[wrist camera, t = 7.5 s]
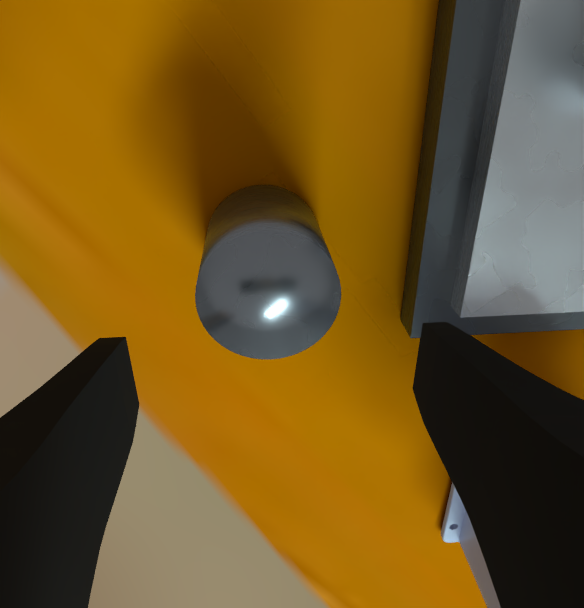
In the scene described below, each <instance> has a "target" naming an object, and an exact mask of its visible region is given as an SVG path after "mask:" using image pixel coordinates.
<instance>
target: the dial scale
mask: <svg viewBox="0 0 584 608" xmlns="http://www.w3.org/2000/svg"><path fill="white" fill-rule="evenodd" d="M401 322H402V324H403V325H404V327H405V329H406V331H407V333H408V334H409V336H410V338H420V337H421V331H422V324H423V323H433V322H448V323H450V324H452V325H454V326H455V327H457V328H459V329H461V330H462V331H464V332H465V333H467V334H469V335H478V334H497V333H516V332H536V331H555V330H574V329H584V0H439V6H438V14H437V22H436V31H435V39H434V47H433V55H432V64H431V72H430V80H429V88H428V97H427V105H426V113H425V121H424V130H423V138H422V146H421V154H420V163H419V171H418V179H417V188H416V196H415V204H414V212H413V221H412V229H411V237H410V245H409V254H408V262H407V270H406V278H405V287H404V295H403V303H402V311H401Z"/></svg>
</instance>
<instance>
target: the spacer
mask: <svg viewBox="0 0 584 608" xmlns="http://www.w3.org/2000/svg"><path fill="white" fill-rule="evenodd" d="M195 299H196V307H197V312H198V315H199V318H200V320H201V322H202V324H203V326H204V327H205V329H206V330H207V332H208V333H209V334H210V335H211V336H212V337H213V338H214V339H215V340H216V341H217V342H218V343H219V344H221V345H222V346H224V347H225V348H227V349H228V350H230V351H232V352H234V353H237V354H240V355H242V356H246V357H250V358H256V359H277V358H283V357H288V356H291V355H294V354H297V353H299V352H301V351H303V350H305V349H307V348H309V347H310V346H312V345H313V344H315V343H316V342H317V341H318V340H320V339H321V338H322V337H323V336H324V335H325V333H326V332H327V331H328V330H329V328H330V327H331V325H332V324H333V322H334V320H335V318H336V316H337V313H338V310H339V306H340V300H341V286H340V281H339V277H338V274H337V271H336V269H335V266H334V264H333V261H332V259H331V256H330V253H329V251H328V248H327V246H326V243H325V241H324V238H323V236H322V233H321V231H320V228H319V226H318V223H317V220H316V218H315V216H314V214H313V212H312V210H311V209H310V208H309V206H308V205H307V204H306V203H305V202H304V201H303V200H302V199H301V198H300V197H299V196H297V195H296V194H294V193H293V192H291V191H289V190H287V189H284V188H281V187H278V186H273V185H254V186H249V187H245V188H243V189H240V190H238V191H236V192H234V193H232V194H231V195H229V196H228V197H227V198H225V199H224V200H223V201H222V202H221V203H220V204H219V206H218V207H217V208H216V210H215V211H214V213H213V215H212V217H211V219H210V222H209V225H208V229H207V234H206V239H205V244H204V249H203V254H202V259H201V264H200V270H199V275H198V280H197V285H196V293H195Z"/></svg>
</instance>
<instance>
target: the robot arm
mask: <svg viewBox="0 0 584 608" xmlns="http://www.w3.org/2000/svg"><path fill="white" fill-rule="evenodd" d="M413 391H414V394H415V398H416V401H417V404H418V407H419V410H420V413H421V416H422V419H423V422H424V425H425V427H426V429H427V431H428V433H429V435H430V437H431V439H432V441H433V444H434V446H435V448H436V450H437V452H438V454H439V456H440V458H441V460H442V462H443V464H444V466H445V468H446V470H447V472H448V474H449V476H450V478H451V480H452V486H451V490H450V494H449V499H448V503H447V508H446V512H445V517H444V521H443V526H442V530H441V536H442V539H443V540H444V541H445V542H460V544H461V547H462V549H463V551H464V554H465V556H466V558H467V561H468V563H469V565H470V568H471V570H472V572H473V575H474V577H475V579H476V582H477V584H478V586H479V589H480V591H481V594H482V596H483V598H484V601H485V603H486V605H487V608H584V400H582V399H580V398H577V397H575V396H573V395H571V394H569V393H567V392H565V391H563V390H561V389H559V388H557V387H555V386H554V385H552V384H550V383H548V382H546V381H545V380H543V379H541V378H539V377H537V376H535V375H534V374H532V373H530V372H528V371H527V370H525V369H523V368H522V367H520V366H518V365H517V364H515V363H513V362H512V361H510V360H508V359H507V358H505V357H503V356H502V355H500V354H499V353H497V352H495V351H494V350H492V349H491V348H489V347H488V346H486V345H484V344H483V343H481V342H480V341H478V340H477V339H475V338H473V337H472V336H470V335H469V334H467V333H465V332H464V331H462V330H461V329H459V328H457V327H455V326H454V325H452V324H450V323H448V322H433V323H423V324H422V331H421V337H420V344H419V351H418V357H417V364H416V370H415V377H414V383H413ZM138 409H139V401H138V396H137V391H136V386H135V381H134V376H133V371H132V366H131V361H130V356H129V351H128V346H127V341H126V337H114V338H99V339H98V340H96V341H95V342H94V343H92V344H91V345H90V346H89V347H88V348H86V349H85V350H84V351H83V352H82V353H80V354H79V355H78V356H77V357H76V358H75V359H74V360H72V361H71V362H70V363H69V364H68V365H67V366H65V367H64V368H63V369H62V370H61V371H59V372H58V373H57V374H56V375H55V376H53V377H52V378H51V379H50V380H49V381H47V382H46V383H45V384H44V385H43V386H41V387H40V388H39V389H38V390H36V391H35V392H34V393H32V394H31V395H30V396H29V397H27V398H26V399H25V400H23V401H22V402H20V403H19V404H18V405H17V406H15V407H14V408H13V409H11V410H10V411H9V412H7V413H6V414H5V415H3V416H2V417H1V418H0V608H88V604H89V598H90V593H91V588H92V583H93V579H94V574H95V569H96V564H97V560H98V555H99V550H100V546H101V542H102V538H103V535H104V531H105V528H106V525H107V522H108V518H109V515H110V512H111V509H112V506H113V503H114V500H115V496H116V493H117V490H118V487H119V484H120V481H121V477H122V475H123V472H124V469H125V465H126V462H127V459H128V455H129V453H130V449H131V446H132V443H133V438H134V432H135V427H136V420H137V415H138Z"/></svg>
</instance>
